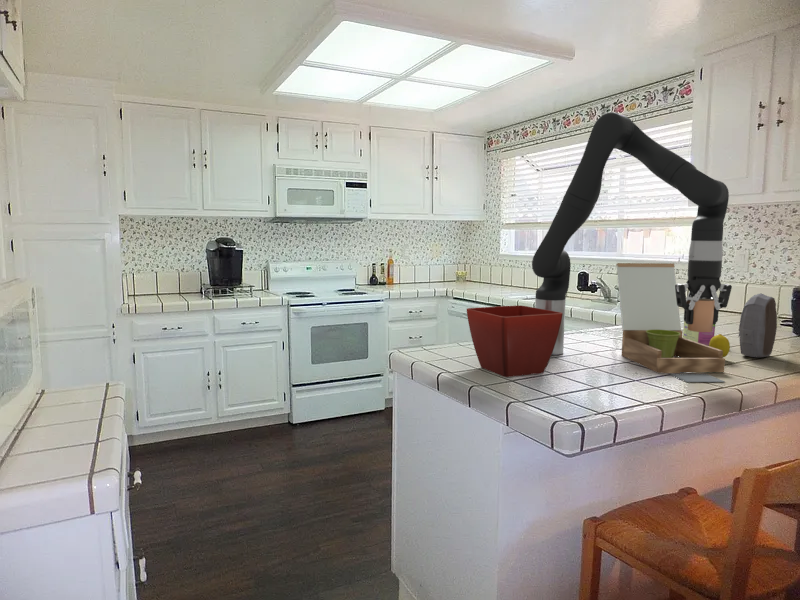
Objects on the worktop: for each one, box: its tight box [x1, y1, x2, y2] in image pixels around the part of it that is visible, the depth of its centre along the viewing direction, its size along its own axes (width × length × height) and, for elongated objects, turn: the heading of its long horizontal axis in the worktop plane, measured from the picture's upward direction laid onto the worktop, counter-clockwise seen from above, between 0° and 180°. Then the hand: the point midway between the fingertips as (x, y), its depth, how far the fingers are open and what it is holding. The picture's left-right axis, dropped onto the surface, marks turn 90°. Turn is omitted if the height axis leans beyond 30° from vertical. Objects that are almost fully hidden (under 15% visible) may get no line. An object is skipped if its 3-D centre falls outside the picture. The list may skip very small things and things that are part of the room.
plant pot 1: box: [466, 305, 563, 378], centre depth 148 cm, size 19×19×17 cm
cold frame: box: [621, 329, 726, 374], centre depth 158 cm, size 18×22×8 cm
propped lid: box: [615, 262, 682, 332], centre depth 174 cm, size 18×12×29 cm, turn 92°
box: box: [682, 320, 716, 346], centre depth 191 cm, size 10×6×12 cm, turn 179°
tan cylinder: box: [688, 298, 715, 332], centre depth 140 cm, size 6×6×8 cm
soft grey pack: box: [737, 293, 778, 358], centre depth 169 cm, size 15×8×20 cm, turn 129°
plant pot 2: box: [646, 330, 681, 358], centre depth 163 cm, size 9×9×9 cm
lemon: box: [709, 333, 731, 358], centre depth 164 cm, size 6×6×8 cm
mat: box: [669, 373, 726, 383], centre depth 142 cm, size 10×8×1 cm
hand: (700, 323), depth 140 cm, fingers closed on tan cylinder, 5 cm apart
